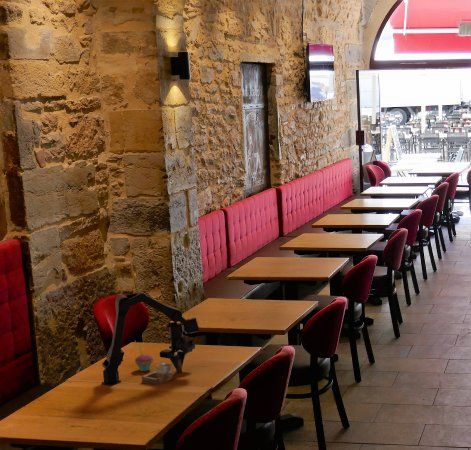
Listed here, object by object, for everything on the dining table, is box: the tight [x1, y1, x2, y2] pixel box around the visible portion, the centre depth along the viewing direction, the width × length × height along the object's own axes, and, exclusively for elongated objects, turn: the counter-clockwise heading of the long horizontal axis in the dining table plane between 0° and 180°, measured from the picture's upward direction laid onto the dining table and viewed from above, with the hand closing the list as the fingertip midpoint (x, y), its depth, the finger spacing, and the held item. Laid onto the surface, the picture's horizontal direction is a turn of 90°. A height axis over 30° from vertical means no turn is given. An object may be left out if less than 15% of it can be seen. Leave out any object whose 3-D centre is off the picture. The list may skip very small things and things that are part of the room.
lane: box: [141, 371, 174, 386], centre depth 393 cm, size 10×9×2 cm
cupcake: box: [134, 345, 154, 372], centre depth 410 cm, size 9×8×12 cm
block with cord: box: [155, 358, 183, 379], centre depth 399 cm, size 14×5×6 cm, turn 143°
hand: (178, 367), depth 404 cm, fingers closed on block with cord, 3 cm apart
